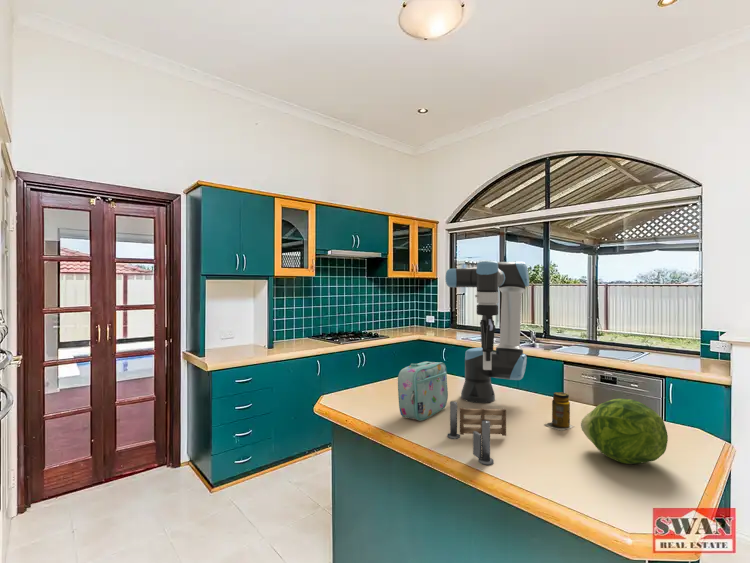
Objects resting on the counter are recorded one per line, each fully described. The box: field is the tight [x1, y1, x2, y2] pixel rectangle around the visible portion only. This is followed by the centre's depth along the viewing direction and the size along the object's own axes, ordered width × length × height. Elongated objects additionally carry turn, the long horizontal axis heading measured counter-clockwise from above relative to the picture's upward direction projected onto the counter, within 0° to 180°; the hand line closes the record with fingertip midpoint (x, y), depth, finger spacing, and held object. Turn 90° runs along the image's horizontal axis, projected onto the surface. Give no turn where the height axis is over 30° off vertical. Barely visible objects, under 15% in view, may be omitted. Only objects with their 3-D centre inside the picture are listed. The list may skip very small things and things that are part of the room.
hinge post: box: [446, 400, 461, 440], centre depth 137 cm, size 4×4×12 cm
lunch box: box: [397, 361, 449, 422], centre depth 161 cm, size 27×10×21 cm, turn 143°
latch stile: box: [472, 420, 495, 466], centre depth 119 cm, size 4×6×12 cm
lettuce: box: [580, 398, 669, 465], centre depth 120 cm, size 19×23×18 cm
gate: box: [459, 407, 507, 437], centre depth 137 cm, size 16×1×9 cm, turn 87°
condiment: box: [543, 391, 575, 432], centre depth 148 cm, size 7×8×12 cm
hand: (487, 369), depth 142 cm, fingers closed
